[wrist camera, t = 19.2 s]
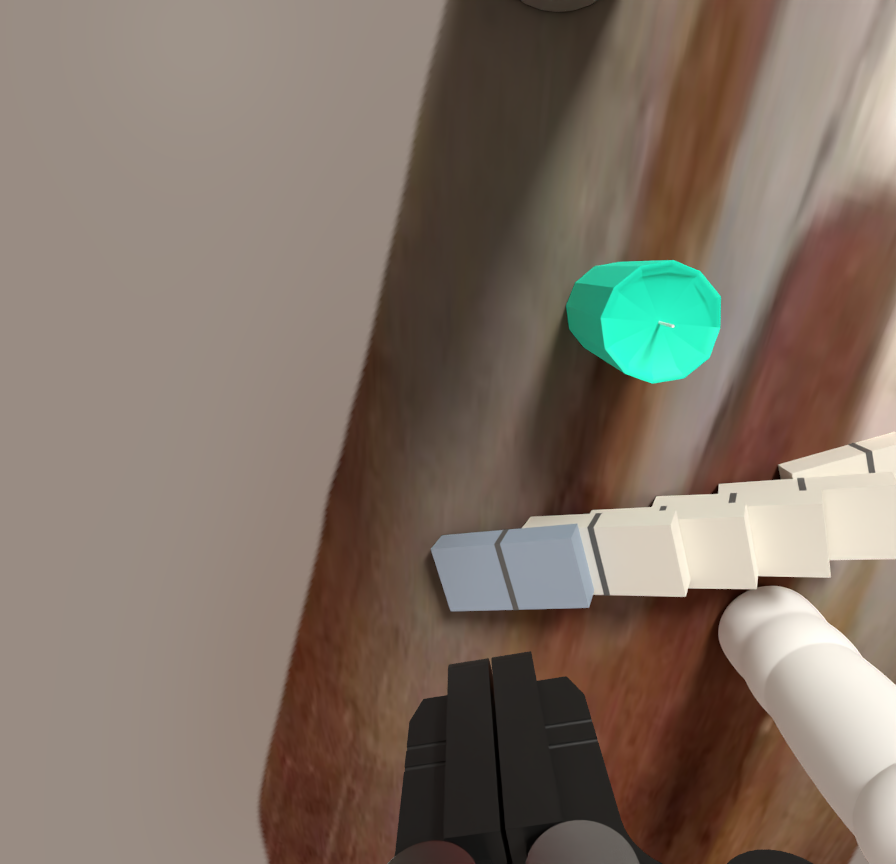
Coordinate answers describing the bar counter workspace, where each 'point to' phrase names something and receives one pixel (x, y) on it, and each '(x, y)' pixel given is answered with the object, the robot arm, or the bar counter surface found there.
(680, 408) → the bar counter surface
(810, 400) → the bar counter surface
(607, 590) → the domino
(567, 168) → the bar counter surface
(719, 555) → the domino
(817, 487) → the domino
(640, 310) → the candle
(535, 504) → the bar counter surface
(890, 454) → the domino
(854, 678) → the water bottle
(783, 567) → the domino
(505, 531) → the domino
